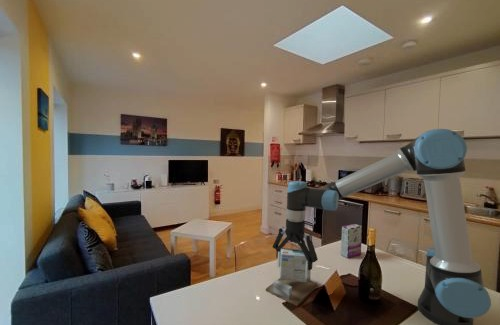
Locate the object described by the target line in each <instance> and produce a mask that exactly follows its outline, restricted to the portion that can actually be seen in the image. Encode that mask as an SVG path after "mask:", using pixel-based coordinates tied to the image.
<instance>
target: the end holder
mask: <svg viewBox="0 0 500 325" xmlns="http://www.w3.org/2000/svg"><path fill="white" fill-rule="evenodd" d="M310 273H311V270H310ZM318 284H319V283H318V282H315V281H313V280H311V275H310V276H309V277H308V278H307V282H300V281H289V280H280V278H278V279H275V280H274V281H273V283H271V284H270V285H268V286H267V287H266V288H265V292H267V293H269V294H271V295H273V296H276V297H278V298H279V299H282V300H284V301H286V302H288V303H289V304H291V305H294V306H296V307H299V305H300V304H301V303H302V302H303V301H304V300H306V298H307V297H308V296H310V294H311V293H312V292H313V291H314V290H315V289H316V288H317V287H318V286H319V285H318Z"/></svg>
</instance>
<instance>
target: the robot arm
mask: <svg viewBox="0 0 500 325" xmlns="http://www.w3.org/2000/svg"><path fill="white" fill-rule="evenodd" d="M467 151H468V145H467V142H466V140H465V139H464V137H463V136H462V135H460V134H459V133H458V132H456V131H454V130H452V129H448V128H433V129H430V130H426V131H424V132H423V133H421V134H420V135H419V136H418V137H416V138H414V139H413V140H412V141H411V142H409V143H408V144H406V145H403V146H402V147H400V148H398V149H397V152H395V153H393V154H391V155H389V156H386V157H385V158H382V159H380V160H378V161H377V162H374V163H372V164H370V165H367V166H366V167H363V168H361V169H358V170H356V171H355V172H351V173H350V174H348V175H346V176H344V177H342V178H340V179H337V180H336V181H333V182H331V183H328V184H326V185H323V187H320V188H314V187H308V184H307V182H305V181H300V180H291V181H289V182H288V185H287V191H286V193H287V194H286V212H285V213H286V214H285V215H286V216H285V218H286V219H285V227H283V226H282V227H280V228H279V229H278V233H277V236H276V238H275V241H274V242H273V244H272V248H273V249H274V250H275V251H276V253H275V254H276V255H275V257H276V259H277V268H280V258H281V248H285V246H286V245H287V244H288V242H290V243H294V244H297V245H298V246H299V247H300V249H302V251H303V253H304V255H305V257H306V259H307V261H306V266H305V278H306V279H307V278H308V277H309V276H310V277H311V272H310V271H311V270H313V263H316V262H317V261H318V256H317V255H318V254H317V252H316V250H315V246H314V244H313V235H312V234H306V233H305V227H306V221H305V220H306V207H308V208H314V209H319V210H326V211H336V210H337V209H338V207H339V200H342V199H344V198H347V197H349V196H351V195H354V194H355V193H358V192H361V191H363V190H365V189H367V188H370V187H373V186H375V185H377V184H380V183H382V182H385V181H387V180H389V179H391V178H394V177H396V176H399V175H401V174H404V173H405V172H415V171H416V175H417V176H418V177H419V178H421V179H422V180H423V182H424V183H423V184H424V190H425V196H426V197H425V198H426V203H427V204H426V205H427V210H428V217H429V224H430V225H429V226H430V232H431V236H432V245H433V247H430V248H427V252H426V254H425V257H426V261H425V262H426V263H425V275H424V278H425V279H424V287H423V289H422V291H421V293H420V295H419V297H418V298H417V310H418V311H419V312H420V313H421V314H422V316H424V317H425V318H426V319H428V320H430V321H431V322H433V323H435V324H437V325H439V324H440V325H474V319H475V318H479V317H482V316H484V315H486V314H487V313H488V312H489V311H490V309H491V307H492V300H491V296H490V294H489V291H488V290H487V289H486V288H485V286H484V281H483V274H482V267H481V265H480V264H479V263H478V262H476V261H475V260H473V257H472V256H473V255H472V249H471V244H470V236H469V230H468V223H467V217H466V211H465V210H466V209H465V205H464V203H465V202H464V199H463V197H464V196H463V192H462V185H461V177H463V175H464V174H465V173H466V165H465V157H466V154H467ZM284 234H285V238H284V239H283V240H282V238H283V236H284ZM281 240H282V241H281Z"/></svg>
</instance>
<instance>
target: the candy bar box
mask: <svg viewBox="0 0 500 325" xmlns="http://www.w3.org/2000/svg"><path fill="white" fill-rule="evenodd" d="M362 230H363V225H359V224H356V223H353V224H349V225H348V224H347V225H343V226H341V242H340V246H341V247H340V256H341V257H343V258H346V259H351V258H354V257H357V256H361V254H362V236H363V235H362V232H363V231H362Z"/></svg>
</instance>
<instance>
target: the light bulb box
mask: <svg viewBox="0 0 500 325" xmlns="http://www.w3.org/2000/svg"><path fill="white" fill-rule="evenodd" d="M306 261H307V259H306V257H305V255H304V253H303V251H302V249H301V248H288V247H287V248H286V247H283V248H281V258H280V267H279V269H280V270H279V275H280V277H279V279H280V280H289V281H300V282H307V279H306V278H305V266H306Z"/></svg>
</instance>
